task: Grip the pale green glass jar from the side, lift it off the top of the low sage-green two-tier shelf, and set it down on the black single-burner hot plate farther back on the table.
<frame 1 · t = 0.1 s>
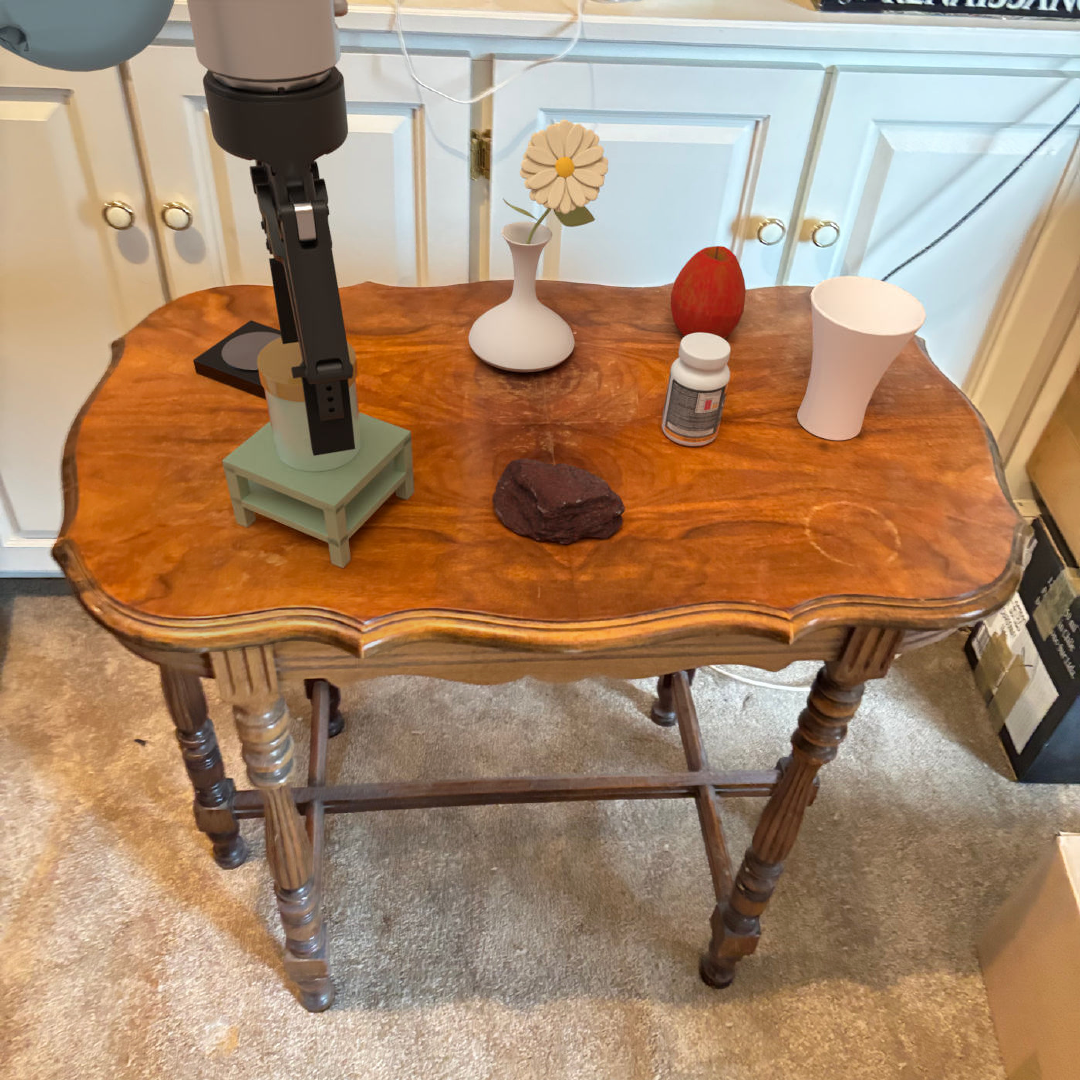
hand: (316, 390, 66), 17 cm above the table, tool pointing down, fingers open, 13 cm apart
hot plate: (259, 364, 97), on the table
flower in vase: (528, 355, 102), on the table
rock: (555, 518, 83), on the table
shelf: (327, 507, 82), on the table
pill bottle: (688, 432, 93), on the table
cup: (828, 423, 96), on the table
jar: (318, 445, 78), point 7 cm above the table, touching shelf
apple: (701, 335, 107), on the table
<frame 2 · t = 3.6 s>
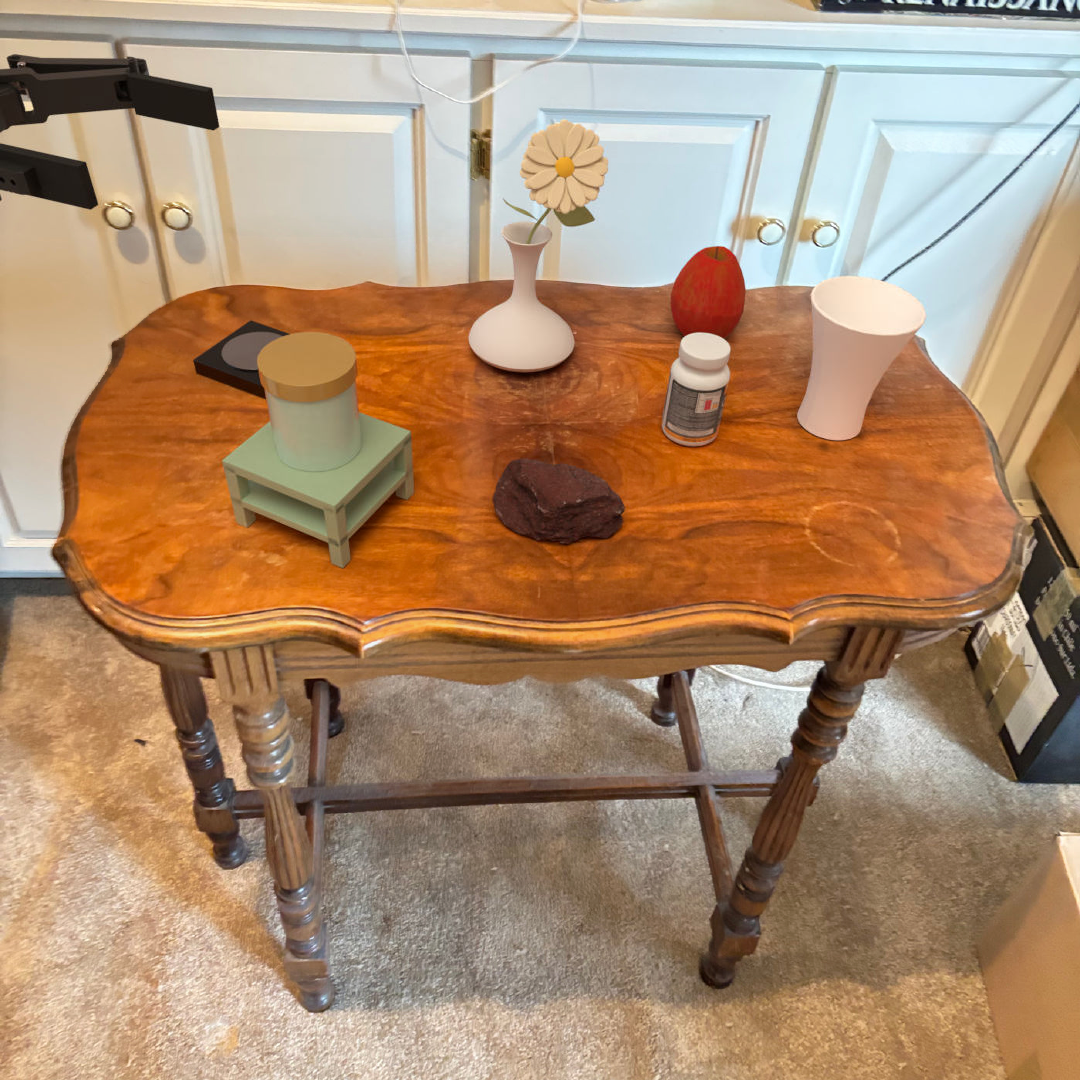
hand: (156, 145, 62), 31 cm above the table, tool horizontal, fingers open, 13 cm apart
nothing on the table moved.
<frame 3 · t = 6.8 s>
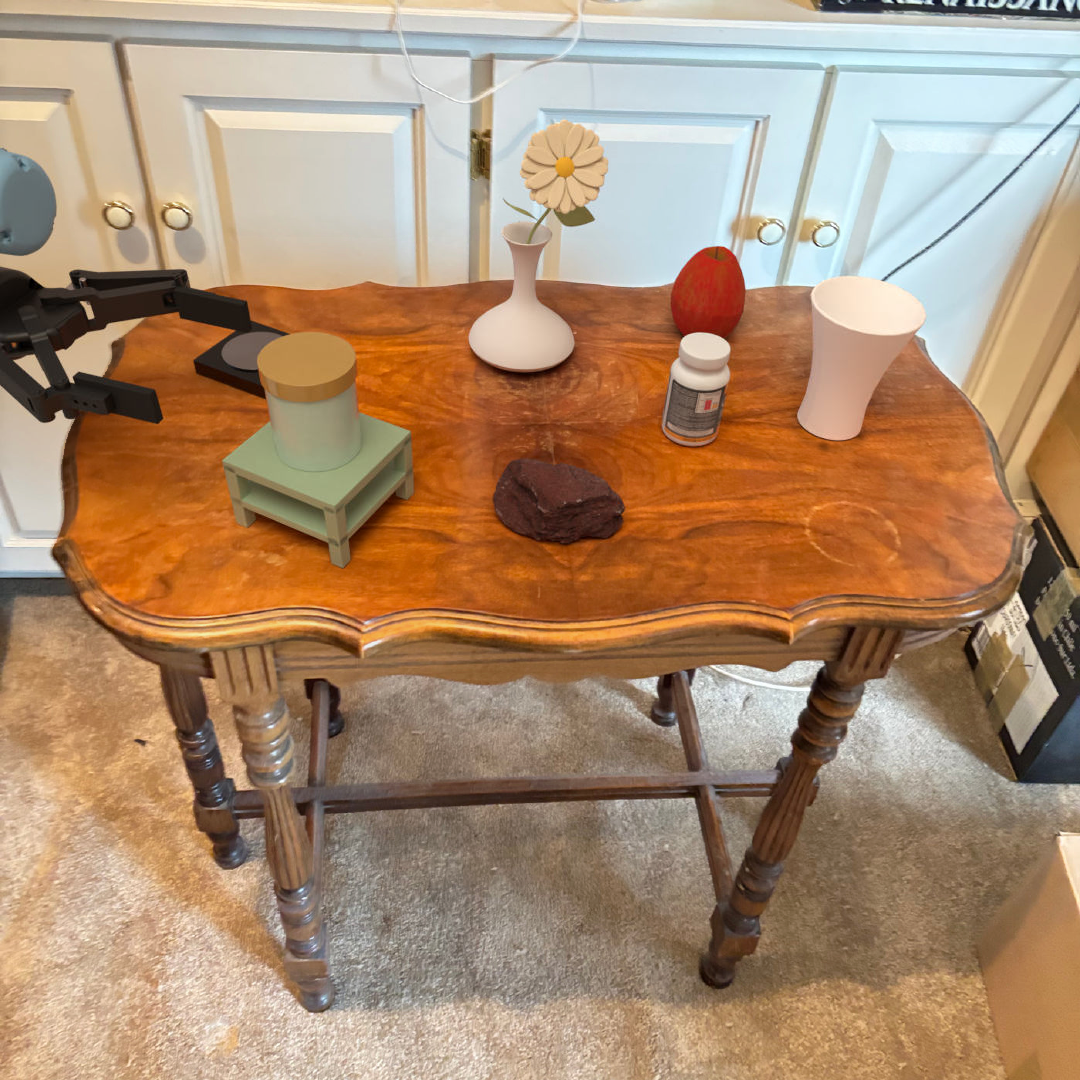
hand: (205, 359, 75), 13 cm above the table, tool horizontal, fingers open, 13 cm apart
nothing on the table moved.
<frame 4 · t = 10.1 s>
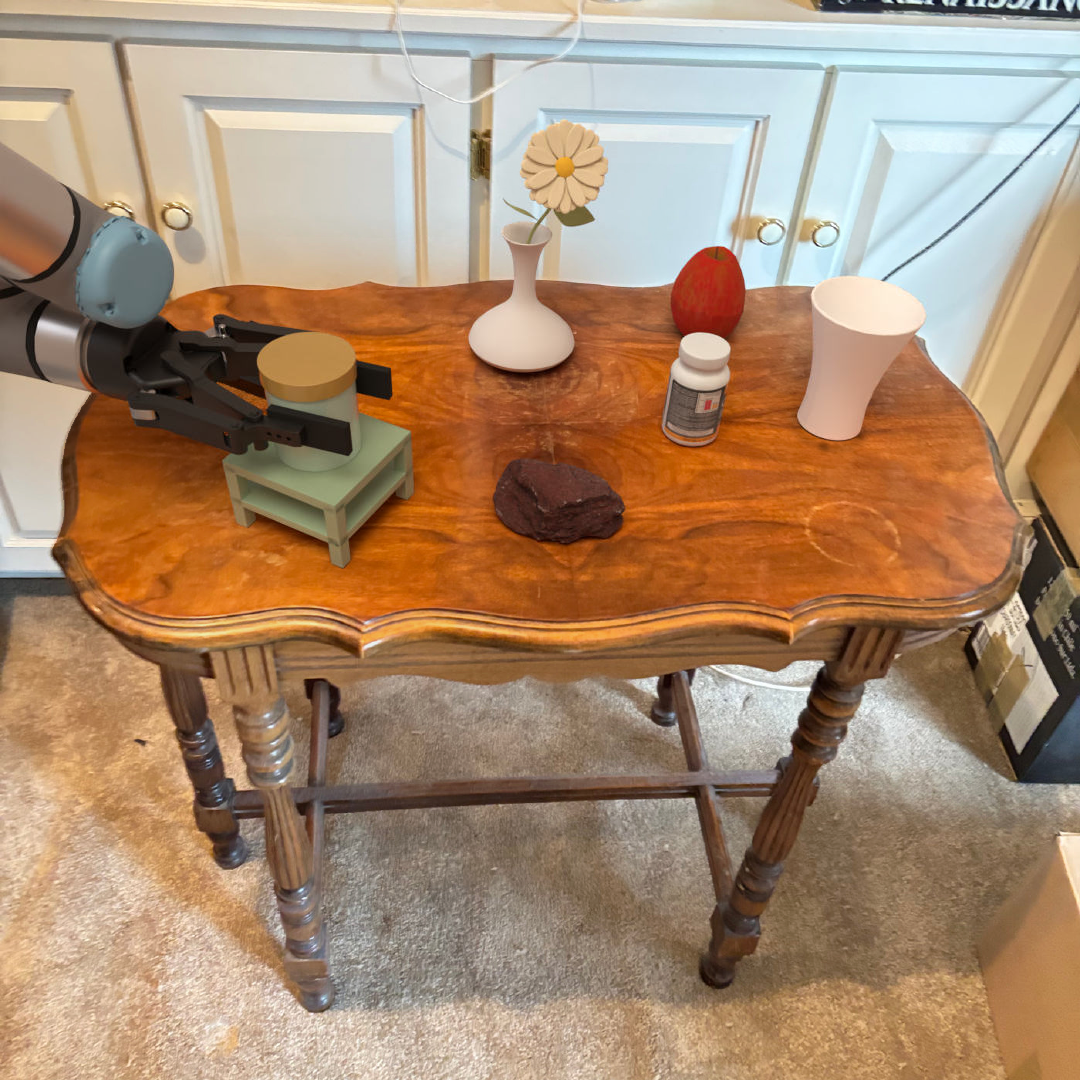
hand: (370, 410, 73), 12 cm above the table, tool horizontal, fingers closed on jar, 7 cm apart
jar: (318, 445, 78), point 7 cm above the table, touching gripper, shelf
everything else where it was.
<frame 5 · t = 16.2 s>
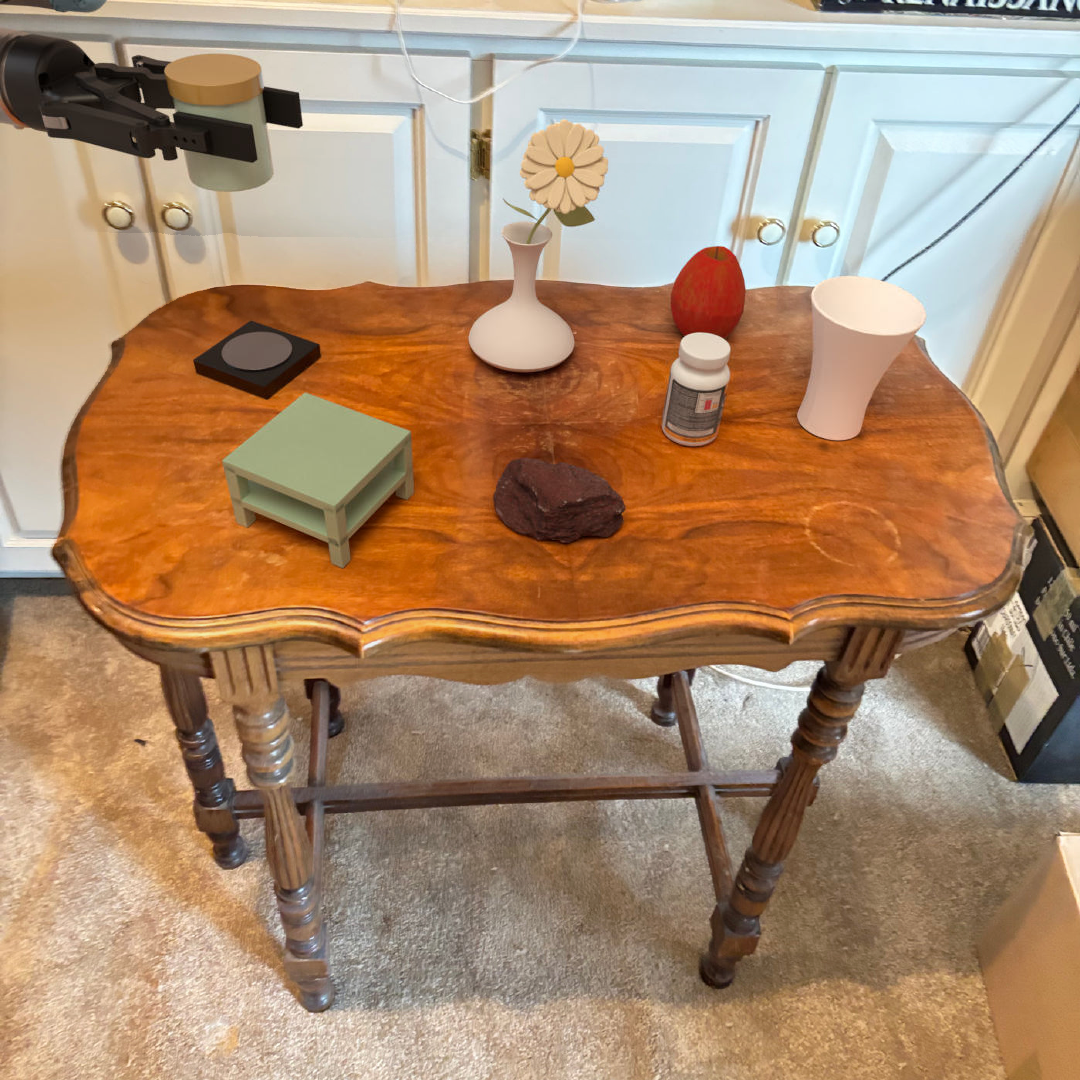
hand: (276, 126, 76), 26 cm above the table, tool horizontal, fingers closed on jar, 7 cm apart
jar: (231, 174, 80), point 22 cm above the table, touching gripper
everything else where it was.
when the fingers open (7 cm above the table, at t = 22.1 s): jar stays where it is, resting on hot plate.
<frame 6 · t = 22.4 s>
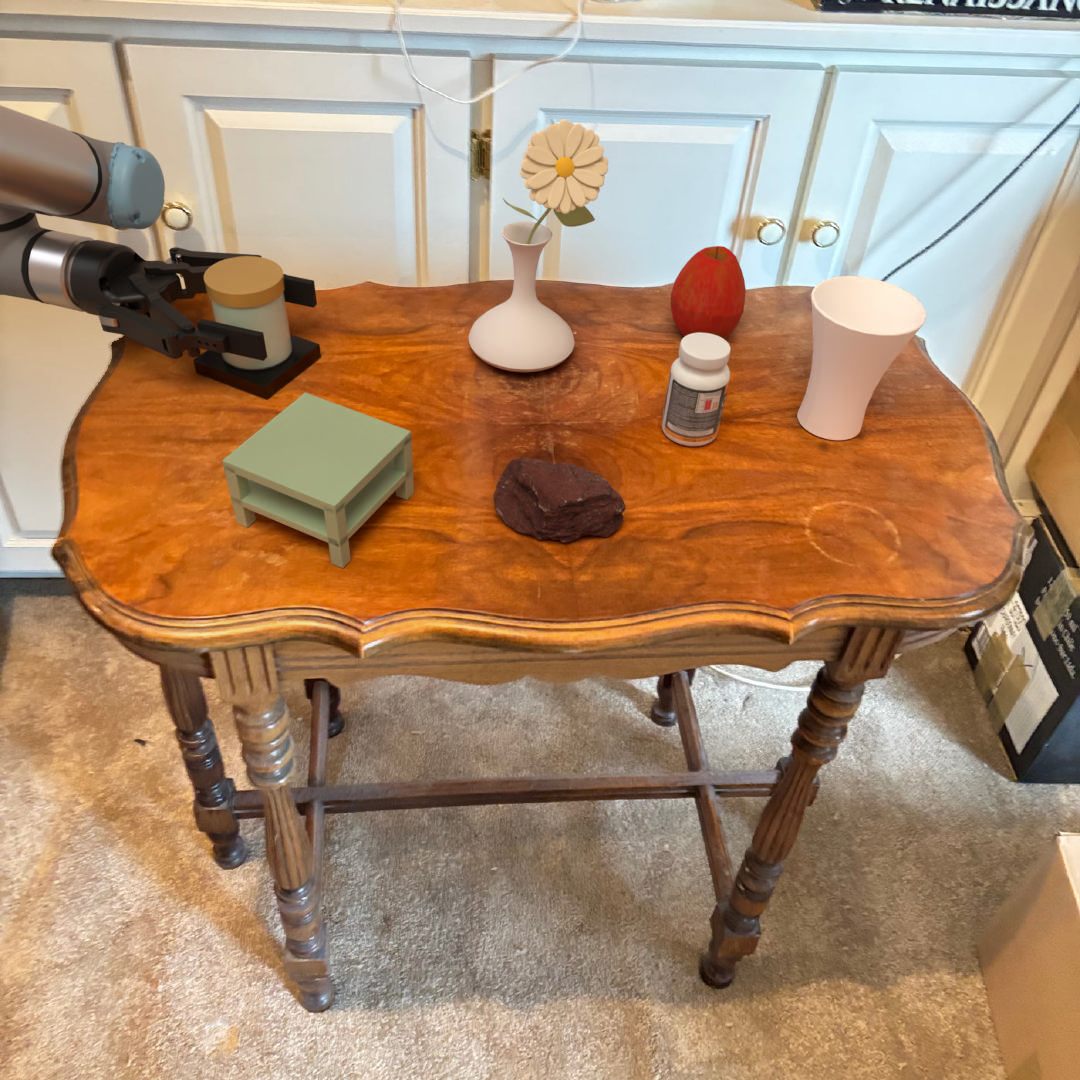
hand: (289, 319, 92), 6 cm above the table, tool horizontal, fingers open, 10 cm apart
jar: (257, 350, 96), point 2 cm above the table, touching hot plate
everything else where it was.
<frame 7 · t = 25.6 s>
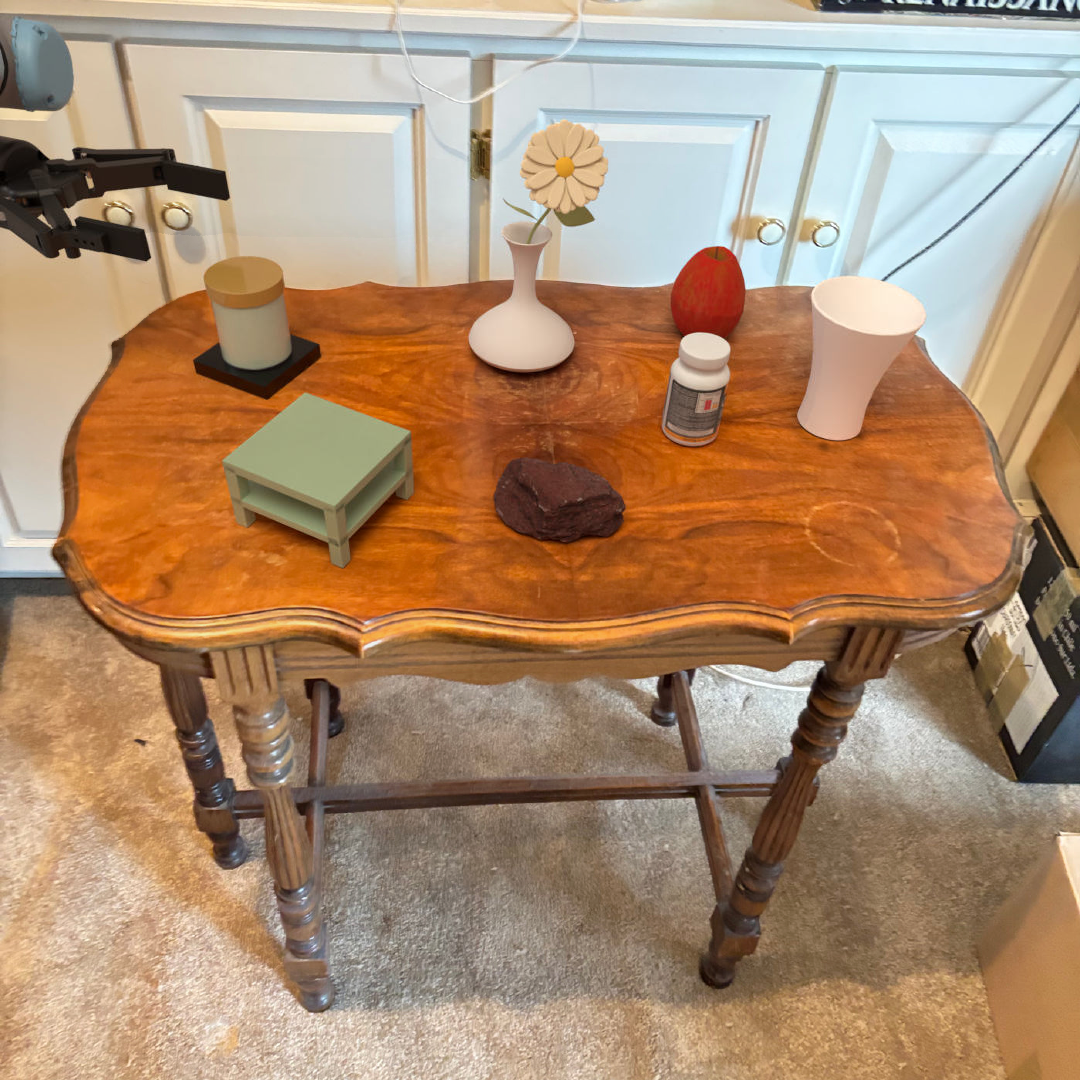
hand: (188, 214, 87), 15 cm above the table, tool horizontal, fingers open, 13 cm apart
nothing on the table moved.
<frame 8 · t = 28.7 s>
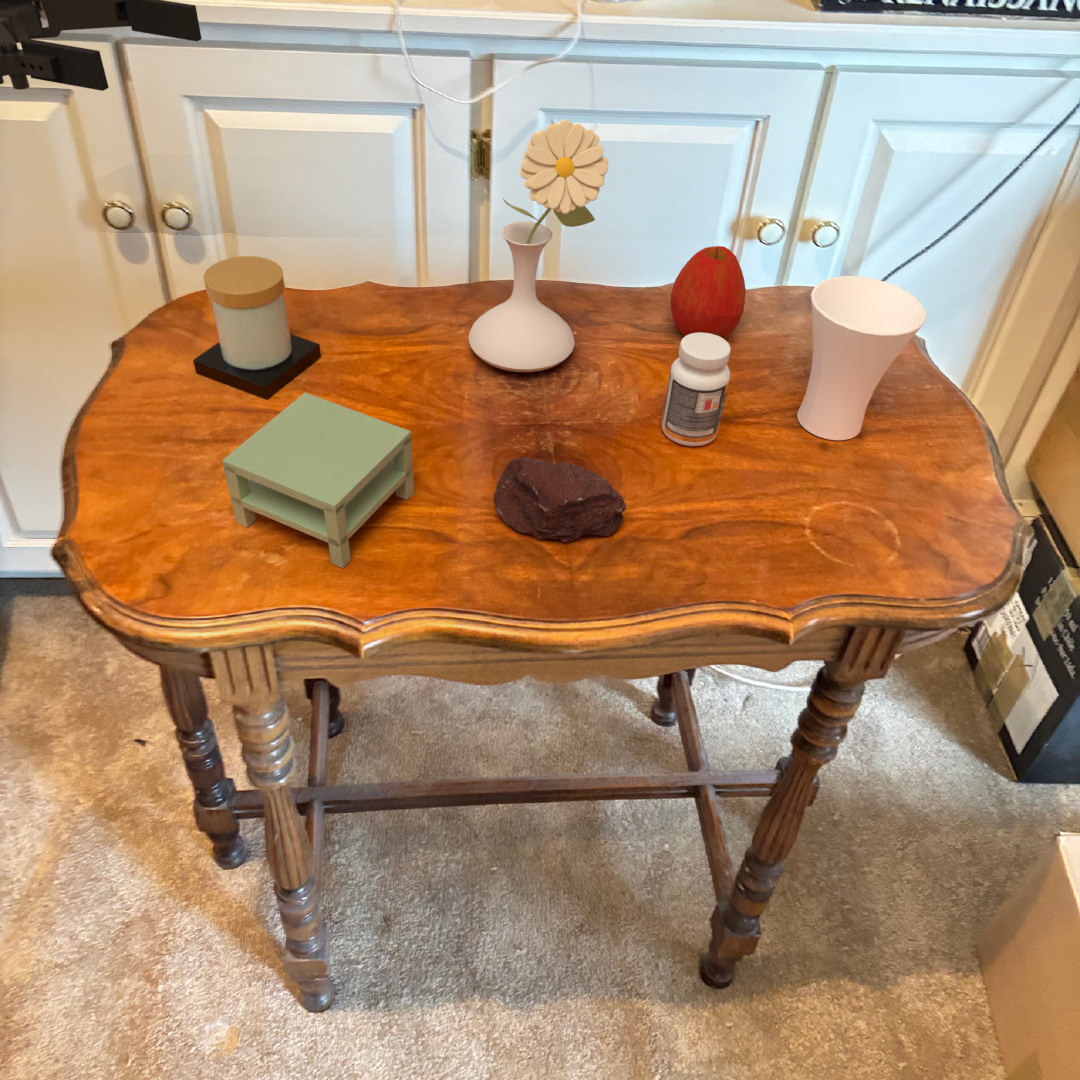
hand: (152, 45, 77), 30 cm above the table, tool horizontal, fingers open, 13 cm apart
nothing on the table moved.
at the end: jar 0.0 cm off-centre on the hot plate, point 1.8 cm above the hot plate's base; jar tilted 0°; jar touching hot plate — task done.
